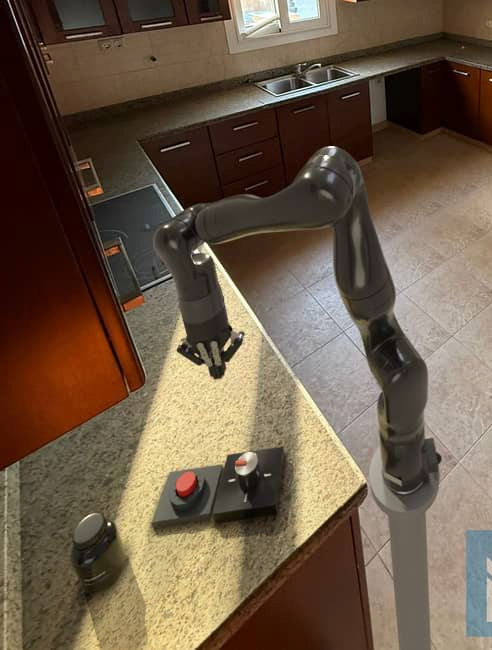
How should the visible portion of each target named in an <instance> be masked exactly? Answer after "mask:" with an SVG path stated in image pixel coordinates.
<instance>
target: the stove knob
mask: <svg viewBox="0 0 492 650" xmlns="http://www.w3.org/2000/svg"><path fill="white" fill-rule="evenodd" d="M246 452H247V453H244V454H243V455H241V456H240V457H239V459H238V460H237V462H236V463H235V471H236V475H237V479H238V483H239V486H240V488H241V489H243V490H249V489H252V488H253V487H255V486H256V485H257V483H258V482H259V480H260V477H261V471H260V467H259V462H258V458H257V455H256V454H255V453H253V452H250V451H246Z"/></svg>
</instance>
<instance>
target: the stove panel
mask: <svg viewBox="0 0 492 650" xmlns="http://www.w3.org/2000/svg"><path fill="white" fill-rule="evenodd" d="M247 452H248V451H243V452H237V453H229V454H227V455H226V458H225V463H224V465H223V469H224V470H223V474H222V478H221V482H220V486H219V490H218V494H217V498H216V502H215V506H214V509H213V513H212V518H213V523H214V525H218V524H224V523H231V522H237V521H244V520H250V519H256V518H262V517H263V518H264V517H268V516H275V515H278V510H279V503H280V496H281V487H282V480H283V473H284V465H285V457H286V455H285V449H284V446H278V447H271V448H264V449H258V450H251V451H249V452H253V453H255V454H256V455H257V458H258V462H259V467H260V471H261V477H260V480H259V482H258V483H257V485H256V486H255V487H253V488H252V489H249V490H243V489H241V488H240V486H239V483H238V479H237V475H236V471H235V463H236V462H237V460H238V459H239V457H240V456H241V455H243V454H244V453H247Z"/></svg>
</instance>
